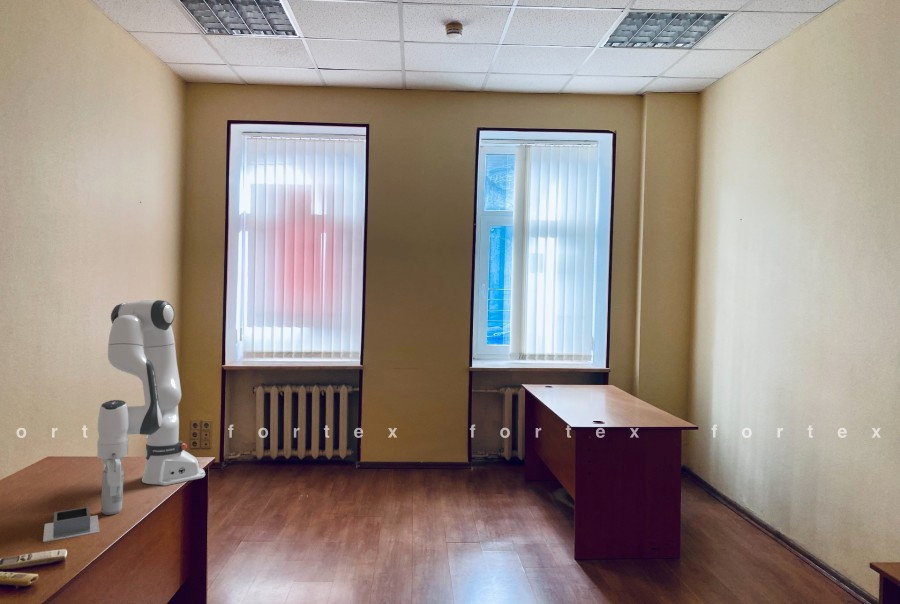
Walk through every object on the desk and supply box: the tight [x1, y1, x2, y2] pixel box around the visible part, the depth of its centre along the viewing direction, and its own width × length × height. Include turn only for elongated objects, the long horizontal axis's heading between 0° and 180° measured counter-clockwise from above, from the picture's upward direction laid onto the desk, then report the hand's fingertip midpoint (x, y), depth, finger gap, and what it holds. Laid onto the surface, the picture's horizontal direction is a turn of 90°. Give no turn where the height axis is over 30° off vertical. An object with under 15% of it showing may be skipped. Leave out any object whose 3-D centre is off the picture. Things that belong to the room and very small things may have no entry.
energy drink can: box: [100, 465, 125, 516], centre depth 189 cm, size 6×6×15 cm
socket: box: [42, 506, 100, 543], centre depth 175 cm, size 14×14×5 cm
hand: (112, 492), depth 189 cm, fingers closed on energy drink can, 6 cm apart
